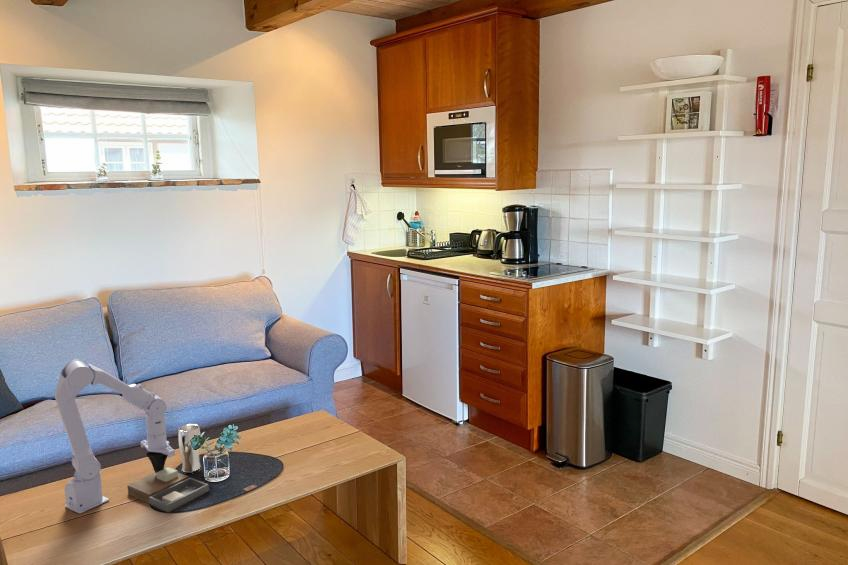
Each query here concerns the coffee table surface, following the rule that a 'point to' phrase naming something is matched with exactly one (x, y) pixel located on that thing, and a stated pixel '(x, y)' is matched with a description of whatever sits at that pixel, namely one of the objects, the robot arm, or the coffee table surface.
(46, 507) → the coffee table surface
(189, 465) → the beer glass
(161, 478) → the sage tile
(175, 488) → the box
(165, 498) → the cream tile
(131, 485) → the walnut board
